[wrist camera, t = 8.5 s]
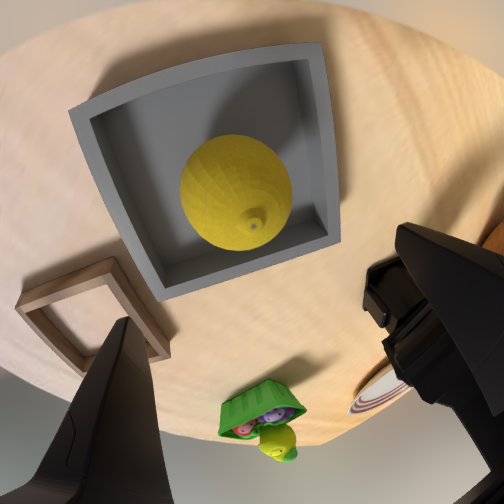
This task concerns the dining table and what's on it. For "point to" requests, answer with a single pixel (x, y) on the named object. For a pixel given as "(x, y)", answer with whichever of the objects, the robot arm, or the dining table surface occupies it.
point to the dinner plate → (378, 391)
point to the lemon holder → (82, 282)
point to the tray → (194, 135)
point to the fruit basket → (263, 419)
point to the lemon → (236, 192)
